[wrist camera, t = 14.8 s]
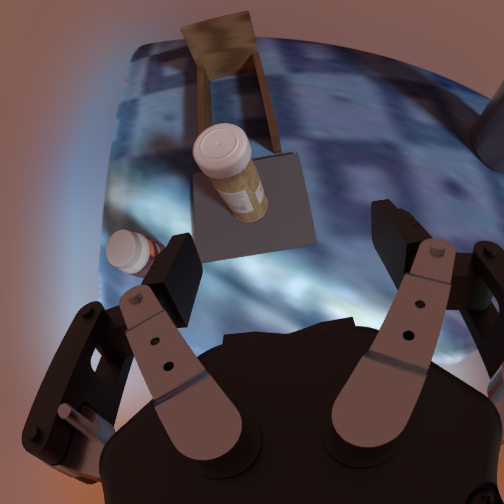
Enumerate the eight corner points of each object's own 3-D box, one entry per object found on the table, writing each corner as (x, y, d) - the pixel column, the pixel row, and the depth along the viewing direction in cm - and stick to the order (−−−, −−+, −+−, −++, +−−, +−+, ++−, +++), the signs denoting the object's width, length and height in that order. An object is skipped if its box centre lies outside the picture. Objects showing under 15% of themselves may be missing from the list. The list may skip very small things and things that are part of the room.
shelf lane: (261, 65, 40) (248, 10, 29) (281, 152, 36) (270, 89, 24) (204, 78, 42) (180, 27, 30) (208, 167, 37) (173, 112, 26)
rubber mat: (298, 156, 35) (297, 152, 34) (316, 244, 32) (316, 242, 31) (194, 176, 37) (192, 173, 36) (200, 263, 34) (197, 262, 33)
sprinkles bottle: (276, 201, 33) (259, 134, 20) (252, 231, 33) (221, 178, 20) (246, 182, 35) (216, 113, 22) (223, 210, 34) (179, 152, 21)
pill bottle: (179, 261, 35) (146, 245, 27) (155, 288, 35) (117, 279, 26) (158, 237, 36) (122, 216, 28) (135, 263, 36) (96, 249, 28)
